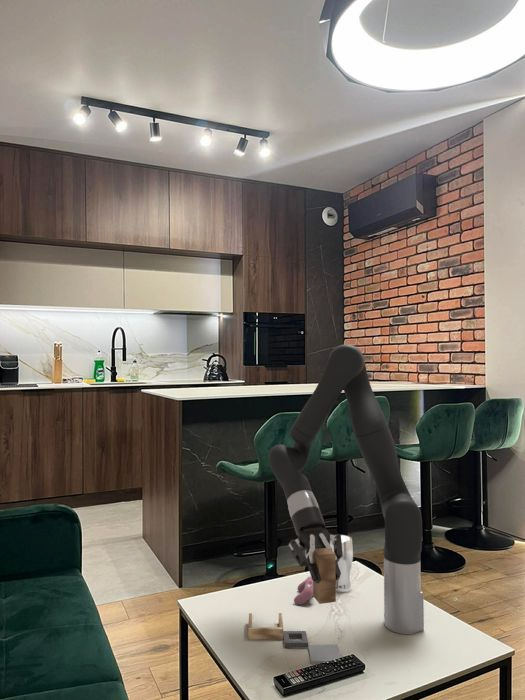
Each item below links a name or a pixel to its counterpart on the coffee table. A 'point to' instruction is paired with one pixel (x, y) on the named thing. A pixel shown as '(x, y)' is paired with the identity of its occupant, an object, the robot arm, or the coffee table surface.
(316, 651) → the grey pad
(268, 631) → the wooden u-shaped bracket
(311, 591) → the video game controller
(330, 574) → the walnut block
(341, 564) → the beer glass
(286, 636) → the grey square frame
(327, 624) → the coffee table surface
